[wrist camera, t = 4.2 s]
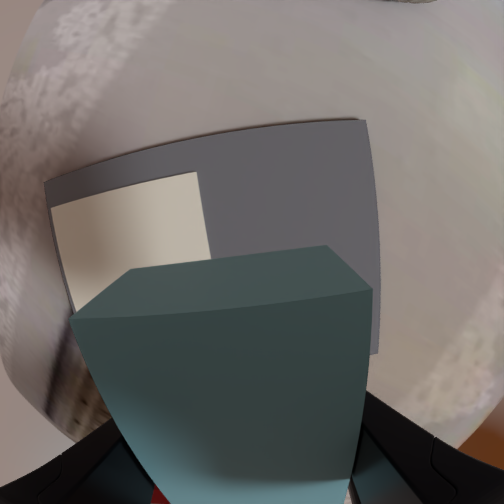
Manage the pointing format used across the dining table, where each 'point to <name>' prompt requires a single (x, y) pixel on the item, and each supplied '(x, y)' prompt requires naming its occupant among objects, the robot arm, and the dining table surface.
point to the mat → (220, 204)
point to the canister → (416, 1)
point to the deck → (236, 373)
